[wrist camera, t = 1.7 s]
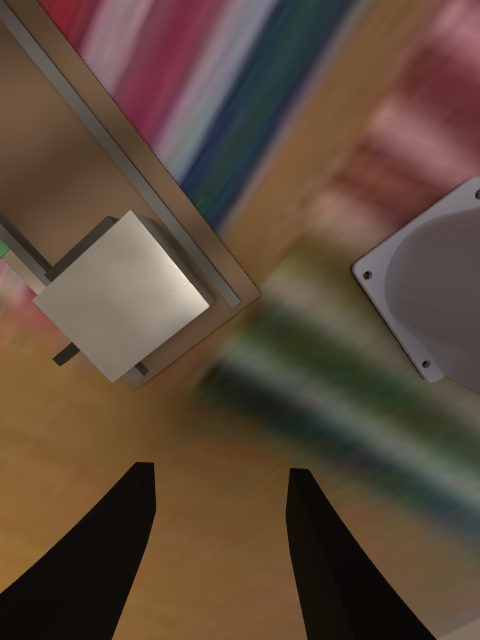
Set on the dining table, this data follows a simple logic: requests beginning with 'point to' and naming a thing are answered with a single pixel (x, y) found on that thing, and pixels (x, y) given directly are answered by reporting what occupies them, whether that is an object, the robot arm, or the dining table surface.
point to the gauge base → (89, 176)
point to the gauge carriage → (122, 293)
